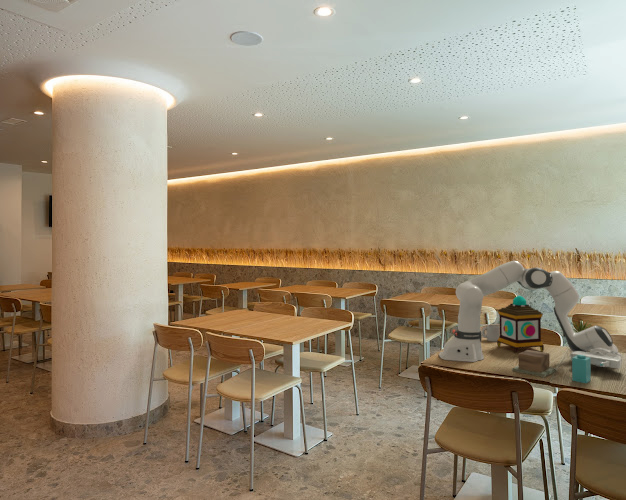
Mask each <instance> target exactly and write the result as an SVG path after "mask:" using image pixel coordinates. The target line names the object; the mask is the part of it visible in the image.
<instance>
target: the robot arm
mask: <svg viewBox="0 0 626 500" xmlns="http://www.w3.org/2000/svg"><path fill="white" fill-rule="evenodd" d="M516 282H517V283H518V284H519V285H520V286H521V287H522V288H524V289H525V290H533V291H534V290H535V291H536V290H540V289H545V290H546V291H547V292H548V293H549V294H550V296H551V297H552V299H553V301H554V307H553V312H554V315H555V318H556V320H557V323H558V324H559V326H560V329H561V331H562V333H563V335H564V337H565V340H566V342H567V345H568V347H569V349H570V350H571V351H572V352H570V357H569V358H570V361H572V358H573V357H575V356H577V355H585V356H586V357H589V358H591V365H594V366H595V367H599V368H602V367H603V368H612V369H616V370H617V369H618V370H619V369H621V368H622V363H623V362H622V354H621V353H620V352H619V349H618V347H617V346H616V345H615V344H614V341H613V338H612V336H611V334H610V333H609V331H608V330H607V329H606V328H604V327H602V326H600V325H597V324H594V325H592V327H591V326H590V328H589V327H588V328H587V329H586V330H585V329H584V330H583V331H581V332H578V331H577V332H578V333H577V332H576V331H575V332H576V333H575V332H574V330H573V329H574V328H573V327H572V326H573V325H572V324H571V323H570V320H569V317H568V314H569V313H570V312H571V311H572V310H573V308H574V307H575V306H576V305H577V304H578V302H579V299H580V298H579V293H578V291H577V290H576V288H575V287H574V285H573V283H572V282H571V281H570V280H569V279H568V278H567V277H566V276H565V275H564V274H563V273H562V272H561V271H559V270H552V271H547V270H545V269H543V268H541V267H531V268H525V267H524V265H522V263H521V262H519V261H517V260H511V261H507V262H505V263H502V264H500V265H498V266H496V267H494V268H493V269H490V270H489V271H487V272H484V273H482V274H481V275H478V276H475V277H473V278H471V279H468V280H466V281H464V282H462V283H460V284H458V285H457V287H456V288H455V295H456V298H457V299H458V301H459V309H458V314H457V326H458V327H457V329H452V331H451V332H452V334H453V335H454V336H453V337H452V338H451V339H449V340H448V341H447V342H445V343H444V346H443V349H442V350H443V351H440V352H439V353H438V354H439V355H438V356H439V357H440V359H442V360H445V361H452V362H453V361H454V362H470V363H472V362H473V363H475V362H478V361H481V360H484V359H485V358H484V357H485V356H484V353H483V349H482V339H483V336H482V330H481V315H482V314H481V313H482V307H483V300H484V297H486V296H489V295H491V294H495V293H497V292H499V291H500V290H503V289H504V288H506V287H509V286H511V285H512V284H514V283H516Z"/></svg>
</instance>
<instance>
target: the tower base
mask: <svg viewBox="0 0 626 500" xmlns="http://www.w3.org/2000/svg"><path fill="white" fill-rule="evenodd" d="M517 354H518V365H515V366H514V367H512V368H511V369H512V372H516V373H520V374H525V373H526V375H530V374H532V375H531V376H534V375H537V376H536V377H539V376H541V377H540V378H545V377H547V376H549V375H550V374H552V372H553V373H555V372H556V370H557V368H555V367H550V353H549V352H544V351H538V350H537V351H536V350H532V349H531V350H530V349H526V350H524V351H522V352H519V353H517ZM548 374H549V375H548ZM546 375H547V376H546ZM544 376H545V377H544Z"/></svg>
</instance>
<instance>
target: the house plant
mask: <svg viewBox="0 0 626 500" xmlns="http://www.w3.org/2000/svg"><path fill="white" fill-rule="evenodd" d="M579 322H580V323H576V322H575V321H573V323H570V324H571V326H573V327H574V328H573V330H574V332H575V333H578V332H581V331H583V330H586V329H588V328H590V327H593V325H592V324H593V322H591V323H589V320H587V321H586V322H585V323H583V321H582V319H580V321H579ZM588 323H589V324H588Z"/></svg>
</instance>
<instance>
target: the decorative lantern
mask: <svg viewBox="0 0 626 500" xmlns="http://www.w3.org/2000/svg"><path fill="white" fill-rule="evenodd" d="M497 313H498V316H499V338H498V340H497V342H496V344H497V347H501V344H503V345H505V346H509V347H511V348H513V349H514V352H515V354H519V353H518V352H519V349H526V348H539V350H540V352H544V350H545V346H544V343H543V342H542V338H541V337H542V333H541V332H542V327H541V325H542V323H541V321H542V319H541V318H543V315H544V314H543V313H542V312H541V311H539V310H538V309H535V308H533V307H532V306H530V305H529V304H527V300H526V299H525V298H524V297H523V296H521V295H517V296H515V297H514V298H513V299H512V303H509V305H507V306H505V307H501V308H499V309H498V310H497Z"/></svg>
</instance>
